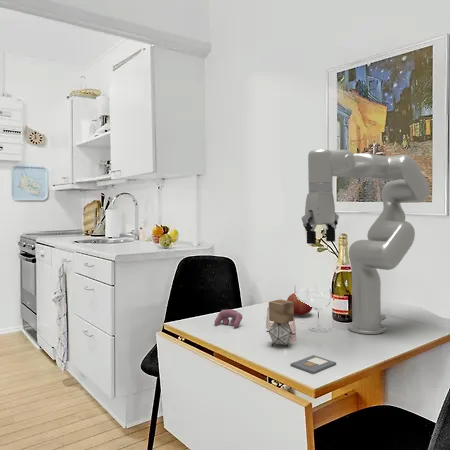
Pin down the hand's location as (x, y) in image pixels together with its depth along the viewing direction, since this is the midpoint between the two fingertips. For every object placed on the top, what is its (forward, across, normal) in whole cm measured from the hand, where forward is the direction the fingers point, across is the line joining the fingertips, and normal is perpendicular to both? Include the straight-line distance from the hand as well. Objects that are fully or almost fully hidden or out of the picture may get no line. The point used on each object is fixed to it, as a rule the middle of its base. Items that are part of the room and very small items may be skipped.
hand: (321, 242), depth 139 cm
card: (+32, +18, +11) cm, 39 cm away
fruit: (+32, -20, -27) cm, 47 cm away
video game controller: (+33, +10, -36) cm, 49 cm away
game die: (+33, +12, -7) cm, 35 cm away
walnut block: (+24, +12, -7) cm, 28 cm away
